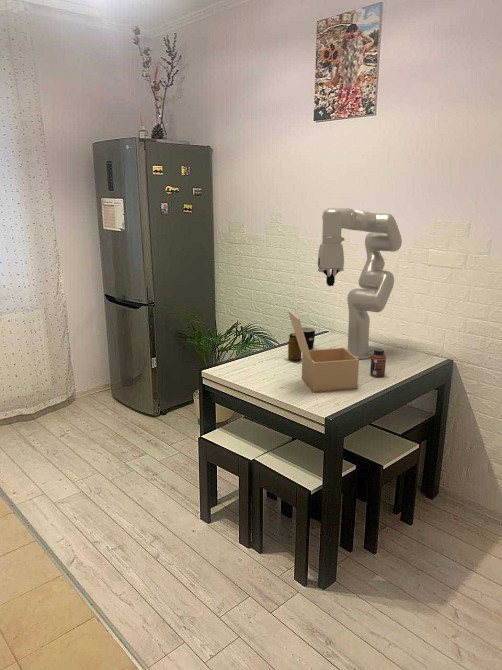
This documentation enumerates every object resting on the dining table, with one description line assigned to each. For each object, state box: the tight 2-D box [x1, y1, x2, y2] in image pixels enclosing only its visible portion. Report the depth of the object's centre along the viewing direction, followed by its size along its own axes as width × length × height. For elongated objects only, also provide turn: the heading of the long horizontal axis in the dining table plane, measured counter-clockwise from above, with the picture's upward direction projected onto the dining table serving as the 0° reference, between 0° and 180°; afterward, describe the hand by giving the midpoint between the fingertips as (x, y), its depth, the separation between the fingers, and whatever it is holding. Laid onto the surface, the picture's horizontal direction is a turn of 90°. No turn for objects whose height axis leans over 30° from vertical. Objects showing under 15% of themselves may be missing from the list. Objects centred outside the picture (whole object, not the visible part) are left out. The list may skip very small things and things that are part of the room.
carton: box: [301, 347, 360, 393], centre depth 205 cm, size 18×16×12 cm
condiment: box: [284, 332, 302, 364], centre depth 234 cm, size 7×8×12 cm
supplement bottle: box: [369, 347, 387, 378], centre depth 214 cm, size 6×6×11 cm
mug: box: [302, 326, 316, 350], centre depth 252 cm, size 12×9×10 cm
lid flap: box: [287, 309, 312, 361], centre depth 199 cm, size 18×15×1 cm
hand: (330, 285), depth 213 cm, fingers closed
